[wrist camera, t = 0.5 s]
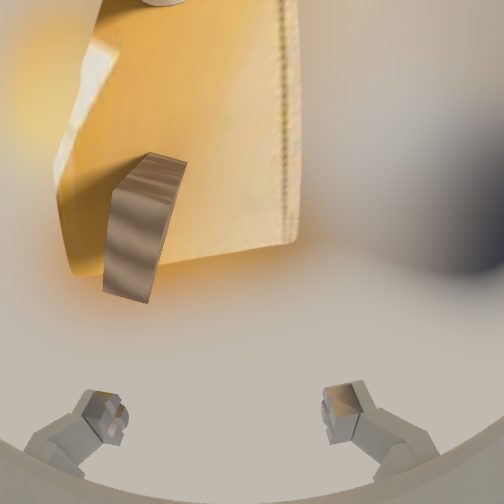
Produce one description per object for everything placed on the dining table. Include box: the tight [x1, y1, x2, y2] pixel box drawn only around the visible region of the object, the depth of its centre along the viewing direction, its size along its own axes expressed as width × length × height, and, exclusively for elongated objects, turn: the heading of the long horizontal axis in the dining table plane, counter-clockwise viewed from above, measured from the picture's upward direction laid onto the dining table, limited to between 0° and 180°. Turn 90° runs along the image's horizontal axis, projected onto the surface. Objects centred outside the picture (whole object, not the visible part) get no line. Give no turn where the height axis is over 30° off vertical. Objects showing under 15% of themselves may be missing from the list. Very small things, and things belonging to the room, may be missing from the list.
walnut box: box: [103, 152, 187, 304], centre depth 46 cm, size 18×8×22 cm, turn 159°
